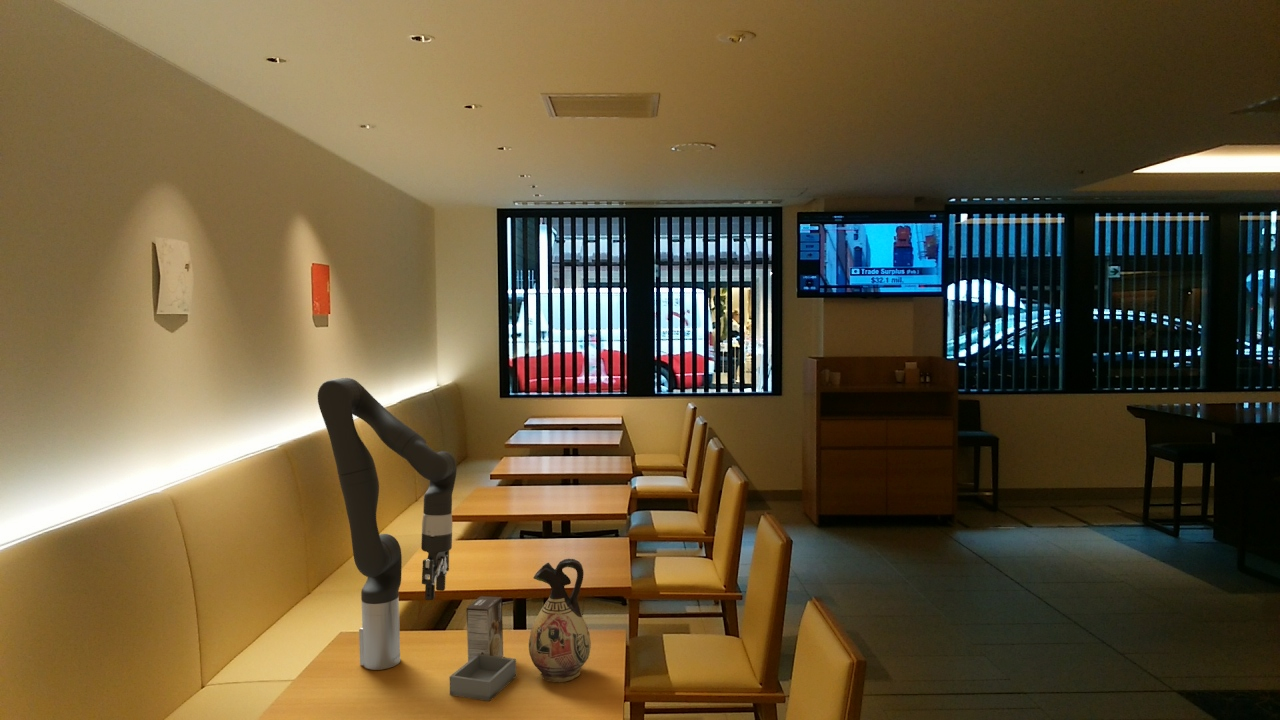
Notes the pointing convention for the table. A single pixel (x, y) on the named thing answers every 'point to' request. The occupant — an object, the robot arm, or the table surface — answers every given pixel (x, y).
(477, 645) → the coffee box
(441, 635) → the table surface
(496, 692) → the grey tub
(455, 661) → the table surface
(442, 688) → the table surface
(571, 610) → the ceramic jug
